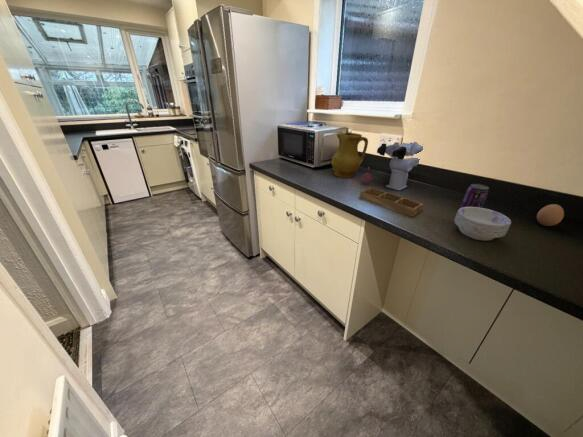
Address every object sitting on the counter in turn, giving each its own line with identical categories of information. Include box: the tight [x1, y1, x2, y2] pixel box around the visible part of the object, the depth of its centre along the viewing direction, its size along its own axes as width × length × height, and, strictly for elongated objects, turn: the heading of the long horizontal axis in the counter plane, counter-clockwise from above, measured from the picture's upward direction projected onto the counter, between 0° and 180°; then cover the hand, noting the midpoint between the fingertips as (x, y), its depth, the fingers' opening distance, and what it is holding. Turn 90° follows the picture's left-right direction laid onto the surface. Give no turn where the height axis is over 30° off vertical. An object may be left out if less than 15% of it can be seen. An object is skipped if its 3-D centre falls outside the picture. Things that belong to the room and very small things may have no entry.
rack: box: [359, 187, 424, 218], centre depth 107 cm, size 9×26×4 cm, turn 41°
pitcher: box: [331, 131, 369, 179], centre depth 140 cm, size 17×19×25 cm
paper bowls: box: [454, 207, 512, 242], centre depth 83 cm, size 15×15×8 cm
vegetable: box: [360, 166, 374, 185], centre depth 129 cm, size 6×6×10 cm
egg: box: [536, 203, 565, 227], centre depth 90 cm, size 7×7×9 cm
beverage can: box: [459, 183, 490, 209], centre depth 98 cm, size 7×7×12 cm
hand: (385, 152), depth 106 cm, fingers open, 7 cm apart
